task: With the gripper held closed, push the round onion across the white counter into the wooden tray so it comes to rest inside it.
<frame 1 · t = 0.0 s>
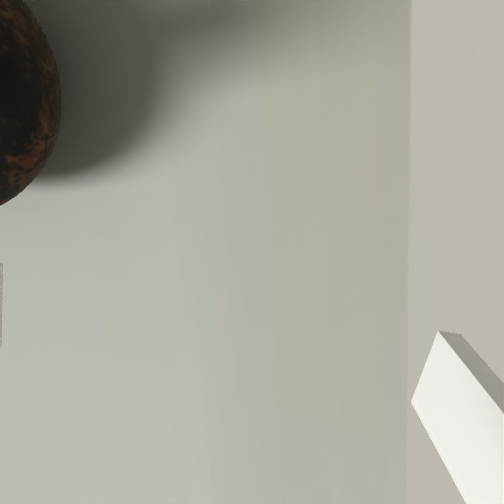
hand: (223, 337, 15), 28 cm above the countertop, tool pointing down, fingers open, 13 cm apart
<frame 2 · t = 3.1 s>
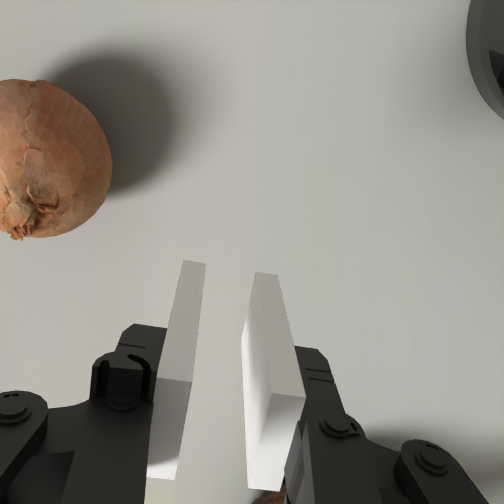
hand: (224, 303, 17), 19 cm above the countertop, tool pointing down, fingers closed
onion: (57, 148, 34), on the countertop
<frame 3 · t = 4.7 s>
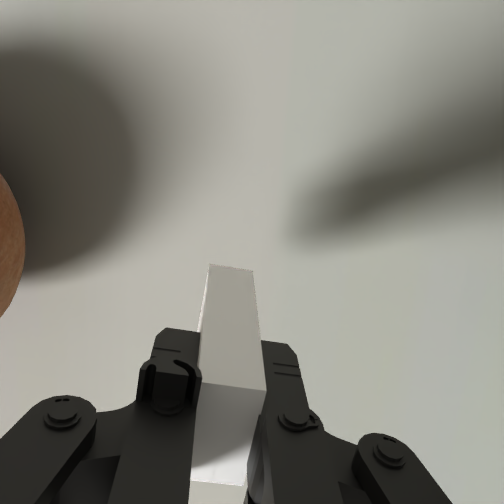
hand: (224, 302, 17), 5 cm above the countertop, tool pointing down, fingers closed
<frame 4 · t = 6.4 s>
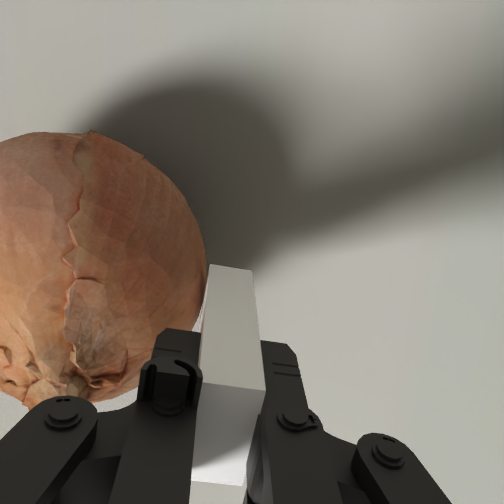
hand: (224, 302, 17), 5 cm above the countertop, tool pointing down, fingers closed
onion: (104, 228, 21), on the countertop, touching gripper
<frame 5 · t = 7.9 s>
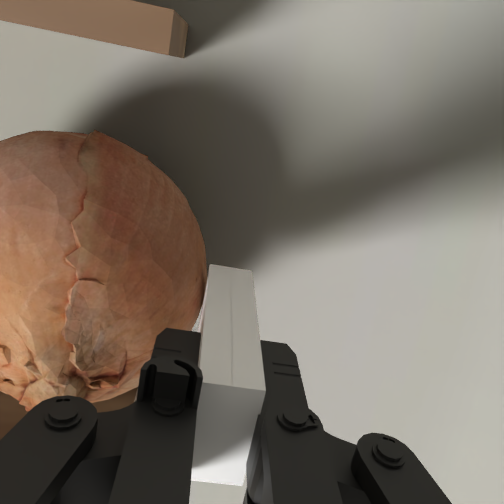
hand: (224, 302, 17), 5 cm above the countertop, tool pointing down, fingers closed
onion: (104, 227, 21), on the countertop, touching gripper
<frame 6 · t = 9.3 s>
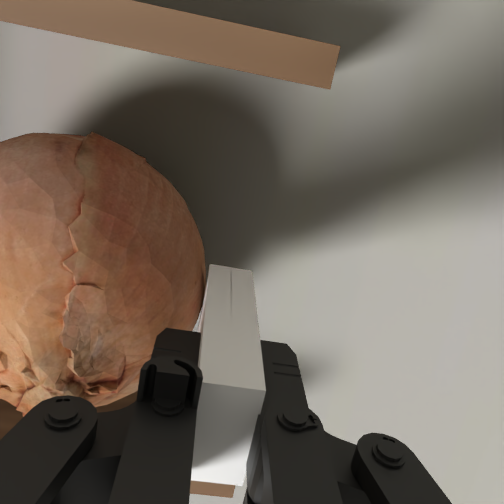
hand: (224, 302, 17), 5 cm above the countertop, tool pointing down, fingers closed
onion: (101, 229, 21), on the countertop, touching gripper
wooden tray: (82, 228, 21), on the countertop
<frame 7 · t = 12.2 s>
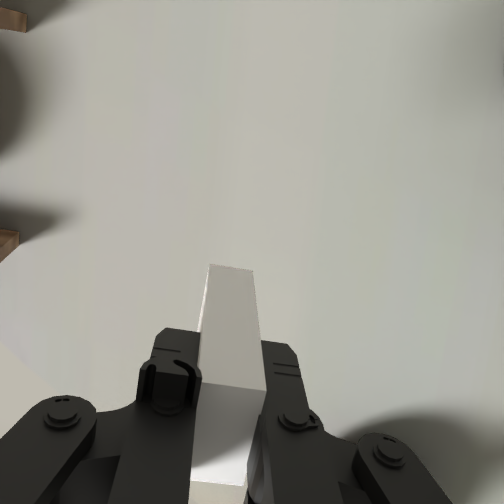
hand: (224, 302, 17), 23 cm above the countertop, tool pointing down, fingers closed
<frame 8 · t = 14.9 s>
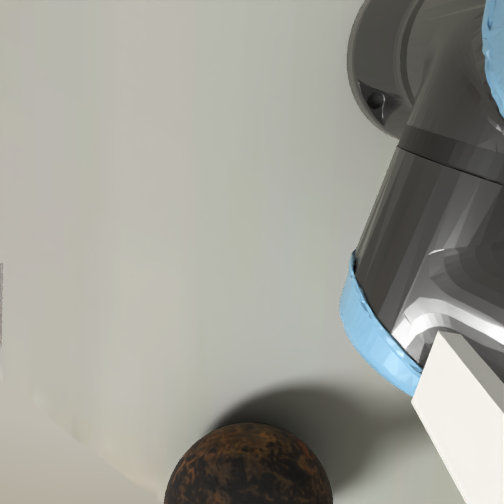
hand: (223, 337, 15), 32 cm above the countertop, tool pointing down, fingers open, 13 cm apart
glass bottle: (246, 457, 57), on the countertop
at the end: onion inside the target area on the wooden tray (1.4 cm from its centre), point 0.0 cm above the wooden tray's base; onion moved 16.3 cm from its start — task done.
